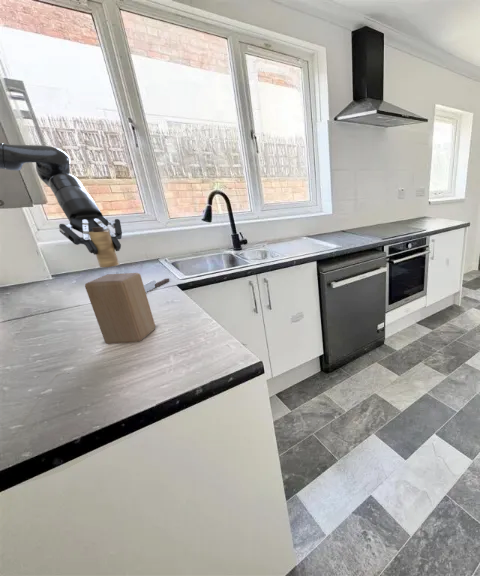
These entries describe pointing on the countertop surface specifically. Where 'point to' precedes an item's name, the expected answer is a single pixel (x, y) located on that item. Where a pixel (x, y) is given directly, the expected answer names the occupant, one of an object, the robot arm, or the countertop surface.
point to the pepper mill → (104, 247)
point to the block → (121, 307)
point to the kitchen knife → (154, 284)
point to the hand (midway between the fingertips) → (107, 250)
